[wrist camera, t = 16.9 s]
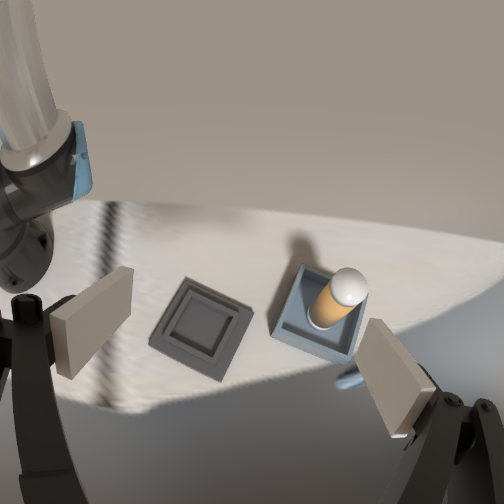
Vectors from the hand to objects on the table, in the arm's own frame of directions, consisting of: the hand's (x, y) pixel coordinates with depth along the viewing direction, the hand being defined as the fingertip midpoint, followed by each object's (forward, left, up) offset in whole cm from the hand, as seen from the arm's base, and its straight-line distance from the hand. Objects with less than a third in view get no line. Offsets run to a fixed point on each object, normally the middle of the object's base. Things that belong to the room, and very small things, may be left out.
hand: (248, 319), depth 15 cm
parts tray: (+10, +16, -30) cm, 35 cm away
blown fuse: (+10, +16, -29) cm, 34 cm away
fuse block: (-6, +6, -30) cm, 31 cm away
